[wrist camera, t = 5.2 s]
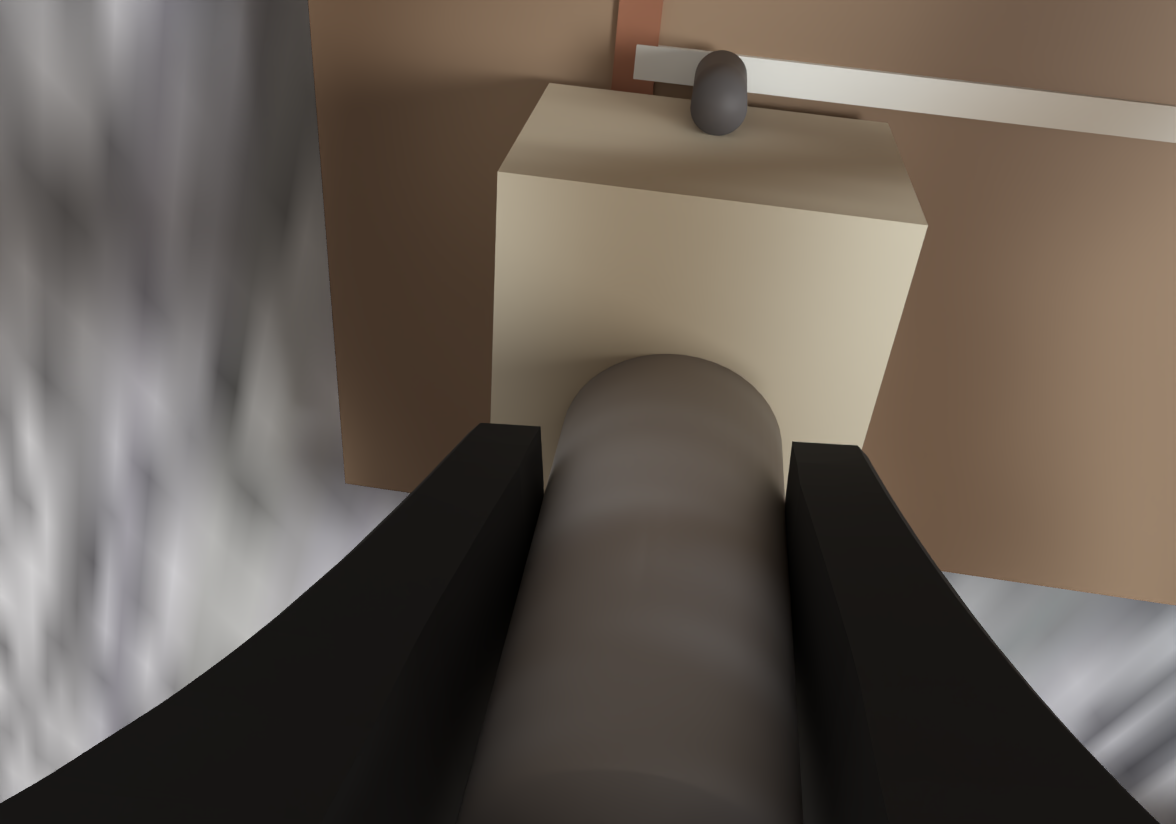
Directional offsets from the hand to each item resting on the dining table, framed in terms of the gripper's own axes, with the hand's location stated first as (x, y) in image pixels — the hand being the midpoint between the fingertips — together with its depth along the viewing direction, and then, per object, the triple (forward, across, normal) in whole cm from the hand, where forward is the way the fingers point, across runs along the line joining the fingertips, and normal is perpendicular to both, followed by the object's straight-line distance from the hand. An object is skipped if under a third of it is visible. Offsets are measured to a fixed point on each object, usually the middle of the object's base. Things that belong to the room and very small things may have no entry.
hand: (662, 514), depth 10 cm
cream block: (+6, 0, +1) cm, 6 cm away
